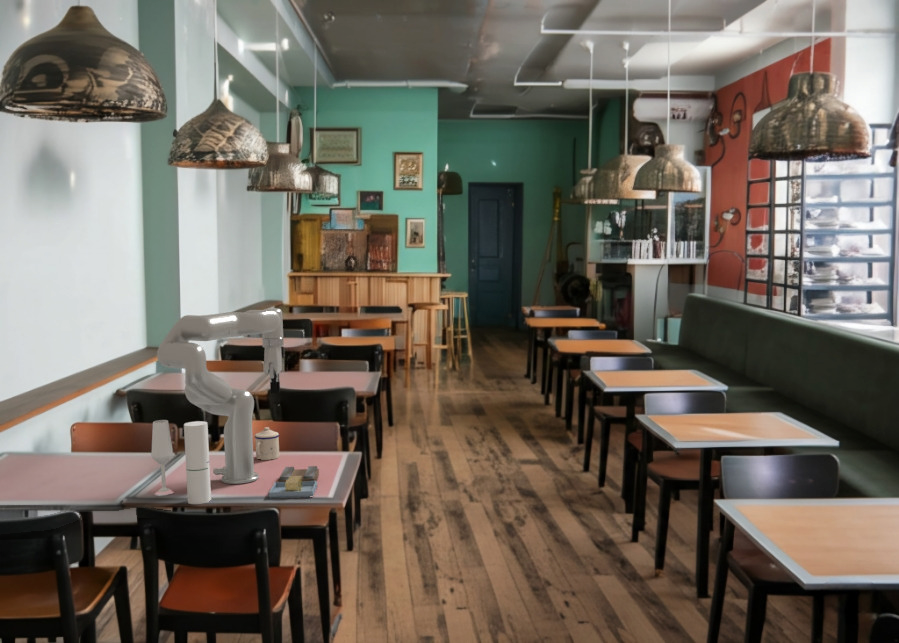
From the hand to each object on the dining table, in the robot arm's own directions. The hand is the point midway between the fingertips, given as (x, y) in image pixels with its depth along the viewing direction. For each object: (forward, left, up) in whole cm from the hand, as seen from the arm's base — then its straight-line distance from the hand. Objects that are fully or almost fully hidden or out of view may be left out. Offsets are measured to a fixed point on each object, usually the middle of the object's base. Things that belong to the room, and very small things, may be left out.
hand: (275, 392), depth 313 cm
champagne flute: (-32, -32, -27) cm, 53 cm away
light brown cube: (+11, -34, -27) cm, 45 cm away
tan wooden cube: (+11, -36, -25) cm, 45 cm away
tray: (+11, -36, -27) cm, 46 cm away
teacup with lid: (-7, +11, -27) cm, 30 cm away
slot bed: (+11, -23, -27) cm, 37 cm away
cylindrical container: (-18, -42, -27) cm, 53 cm away
